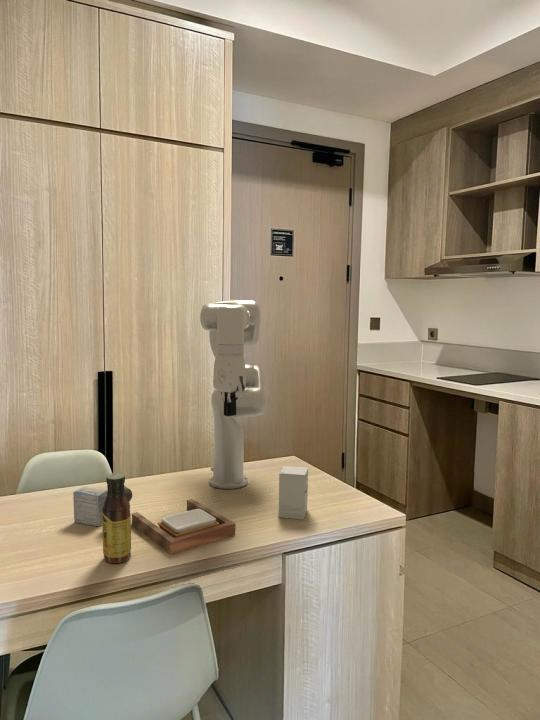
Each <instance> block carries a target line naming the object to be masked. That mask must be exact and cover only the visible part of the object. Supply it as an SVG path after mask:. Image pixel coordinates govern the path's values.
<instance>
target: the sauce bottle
mask: <svg viewBox="0 0 540 720" xmlns="http://www.w3.org/2000/svg"><path fill="white" fill-rule="evenodd" d="M125 481H126V476H125V474H124V473H119V472H116V473H110V474H108V475H107V476H106V480H105V482H106V484H107V485H106V486H107V488H106V490H107V497H106V500H105V503H104V506H103V509H102V525H101V527H102V528H101V530H102V553H103V558H104V561H105V562H106V563H110V564H120V563H123V562H126V561H127V560H129V559H130V557H131V555H132V553H131V552H132V551H131V550H132V529H131V528H132V513H131V503H130V502H129V500H128V499H127V497H126V496H125V495H124V493H125V491H124V486H125Z"/></svg>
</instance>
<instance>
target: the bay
mask: <svg viewBox="0 0 540 720" xmlns="http://www.w3.org/2000/svg"><path fill="white" fill-rule="evenodd" d="M124 491H125V493H124V495H125V496H126V497H127V499H128V500H129V503H130V502H131V500H132V498H133V491H132V490H131V489H130V488H129V487H127V486H126V485H124ZM195 509H201V510H203V511H205V512H206V513H208V514H210V515H211V516H213V517H214V518H216V521H217V522H218V523H219V525H217V526H214V527H211V528H207V529H204V530H200V531H197V532H193V533H190V534H187V535H183V536H180V537H176V538H173V537H172V536H170V535H169V534H168V533H166V532H165V531H163V530H162V529H160V527H159V525H156V524H155V523H153V522H152V521H151V520H149V519H148V518H146V517H145V516H144V515H143V514H141V513H139V512H138V511H135V512H132V513H131V526H133V527H135V528H136V529H137V530H138V531H140V532H141V533H143V534H144V535H145V536H146V537H148V538H149V539H150V540H152V541H153V542H154V543H156V544H157V545H158V546H159V547H161V549H164V550H165V552H167V553H169V554H170V555H174V554H178V553H181V552H183V551H184V552H185V551H187V550H191V549H194V548H197V547H200V546H203V545H207V544H209V543H212V542H216V541H219V540H222V539H225V538H228V537H232V536H235V535H236V523H235V522H234V521H232V520H230V519H228V518H227V517H225V516H223V515H221V514H219V512H217V511H214V510H213V509H211V508H209V507H208V506H205V504H202V503H200V502H199V501H197V500H195V499H193V498H188V499H186V511H190V510H195Z"/></svg>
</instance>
